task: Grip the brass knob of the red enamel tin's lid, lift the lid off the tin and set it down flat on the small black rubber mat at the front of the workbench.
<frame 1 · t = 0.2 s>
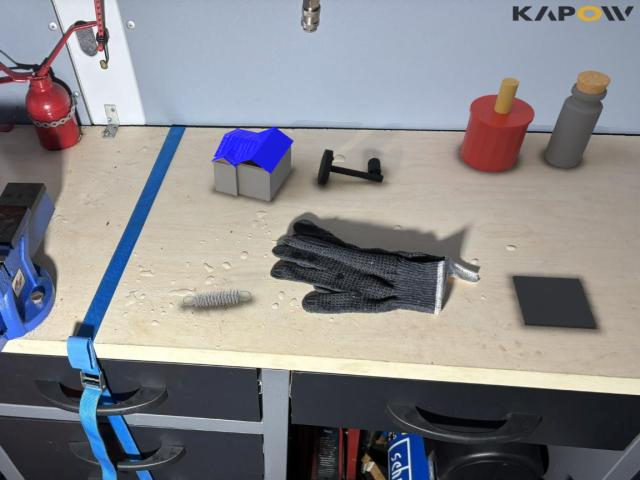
tin: (488, 156, 107), on the table
bottle: (561, 159, 106), on the table
mat: (552, 302, 84), on the table
spring: (217, 303, 87), on the table
tin lid: (501, 113, 101), point 8 cm above the table, touching tin
house: (253, 180, 106), on the table
light fixture: (349, 171, 106), on the table
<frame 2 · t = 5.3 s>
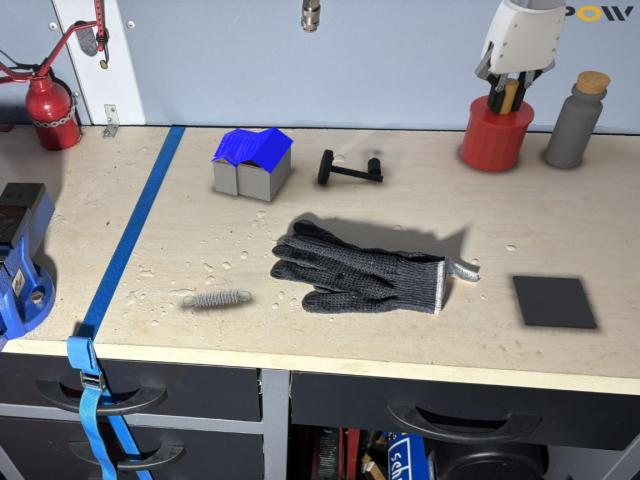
hand: (502, 107, 100), 9 cm above the table, tool pointing down, fingers closed on tin lid, 2 cm apart
tin lid: (501, 113, 101), point 9 cm above the table, touching gripper, tin
everything else where it was.
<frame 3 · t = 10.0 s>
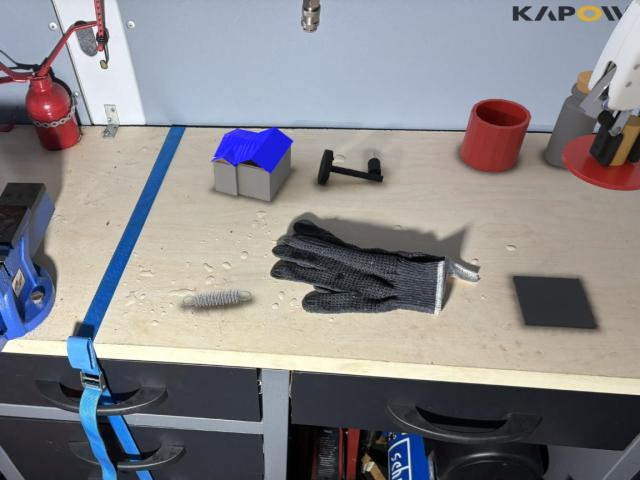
hand: (613, 156, 68), 22 cm above the table, tool pointing down, fingers closed on tin lid, 2 cm apart
tin lid: (609, 163, 69), point 21 cm above the table, touching gripper
everything else where it was.
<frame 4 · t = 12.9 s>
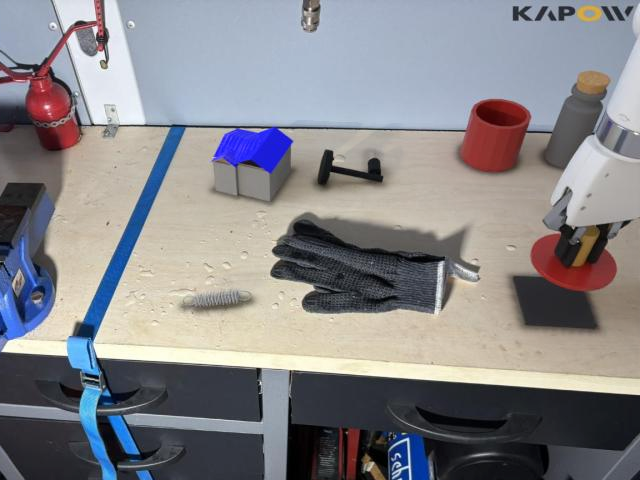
hand: (574, 257, 77), 9 cm above the table, tool pointing down, fingers closed on tin lid, 2 cm apart
tin lid: (571, 262, 78), point 8 cm above the table, touching gripper
everything else where it was.
when the fingers open (2 cm above the table, at t = 14.6 s): tin lid stays where it is, resting on mat.
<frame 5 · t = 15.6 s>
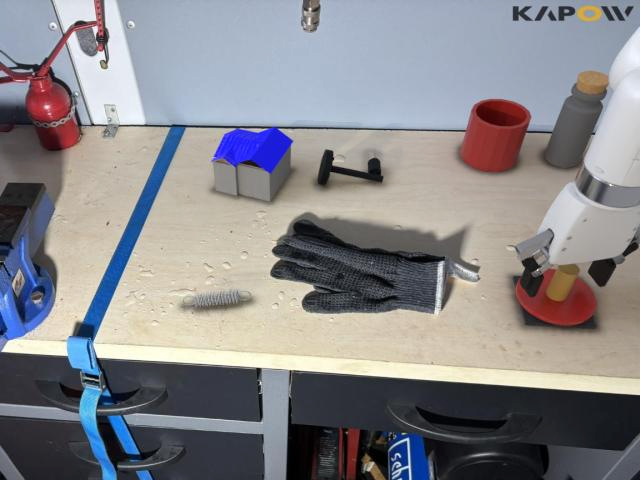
hand: (561, 284, 81), 3 cm above the table, tool pointing down, fingers open, 9 cm apart
tin lid: (554, 297, 83), point 1 cm above the table, touching mat
everything else where it was.
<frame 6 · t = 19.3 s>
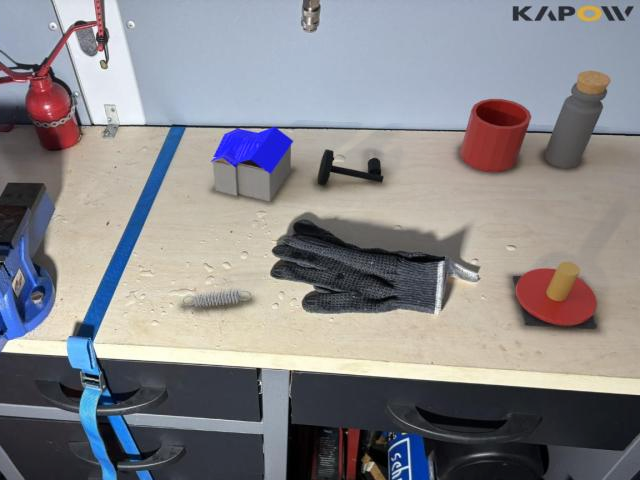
nothing on the table moved.
at the end: tin lid 0.0 cm off-centre on the mat, point 1.0 cm above the mat's base; tin lid tilted 0°; tin lid touching mat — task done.
